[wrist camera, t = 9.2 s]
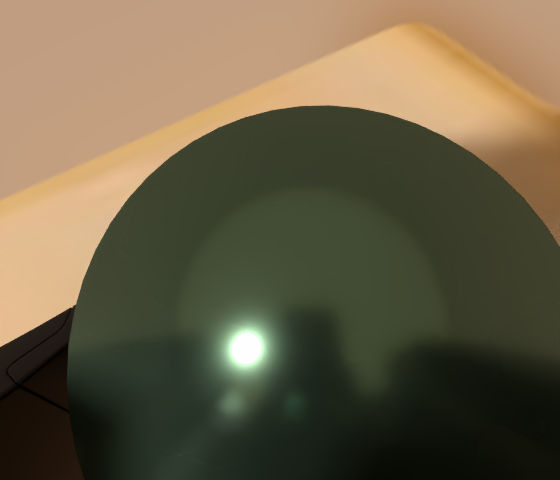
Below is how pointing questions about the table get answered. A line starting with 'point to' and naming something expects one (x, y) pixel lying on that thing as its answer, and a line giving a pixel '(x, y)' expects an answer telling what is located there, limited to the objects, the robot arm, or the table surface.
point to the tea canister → (319, 313)
